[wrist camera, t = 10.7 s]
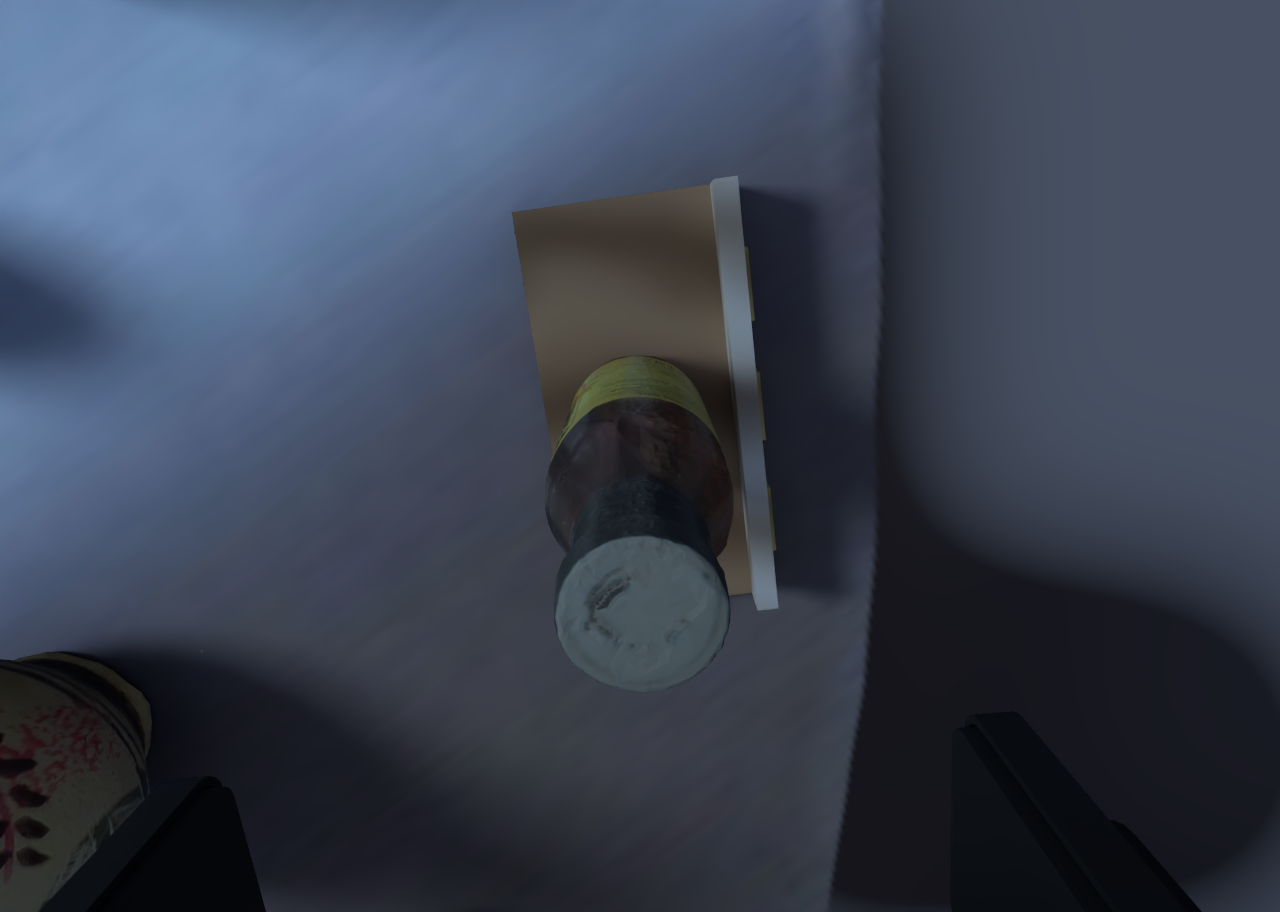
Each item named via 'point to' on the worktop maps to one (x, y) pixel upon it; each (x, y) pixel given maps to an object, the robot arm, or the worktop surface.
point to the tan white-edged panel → (659, 328)
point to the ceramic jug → (64, 769)
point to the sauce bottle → (640, 527)
